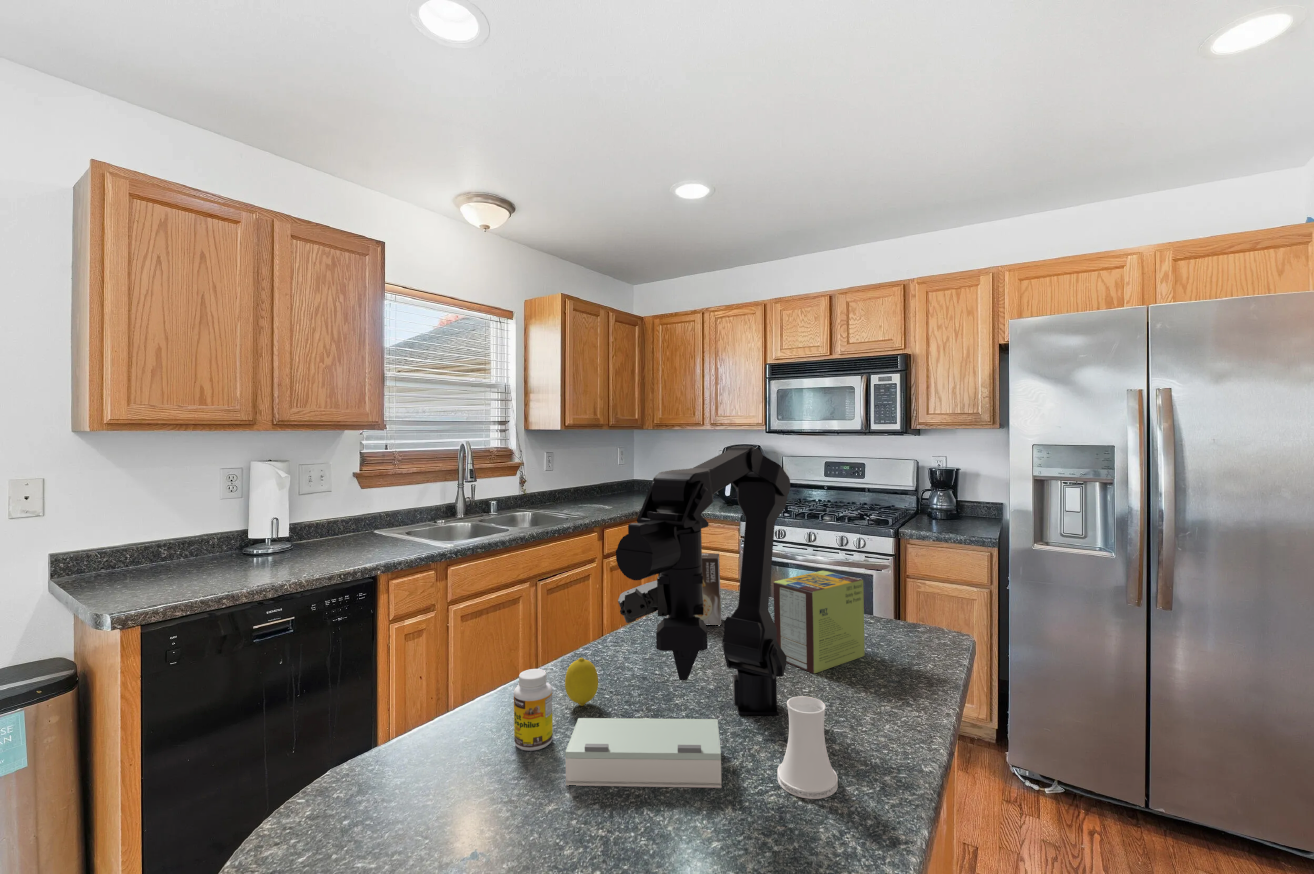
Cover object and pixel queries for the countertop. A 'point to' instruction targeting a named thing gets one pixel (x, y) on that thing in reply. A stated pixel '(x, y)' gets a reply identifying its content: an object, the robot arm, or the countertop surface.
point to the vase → (807, 752)
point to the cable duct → (643, 772)
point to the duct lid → (645, 739)
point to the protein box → (819, 619)
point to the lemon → (581, 681)
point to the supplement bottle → (533, 711)
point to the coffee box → (711, 589)
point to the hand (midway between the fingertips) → (683, 679)
